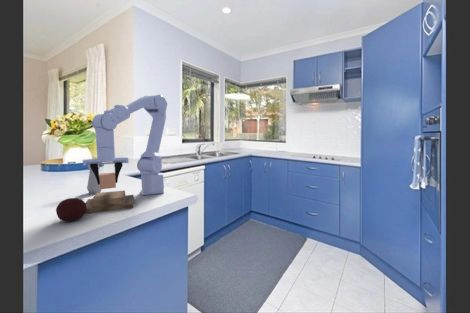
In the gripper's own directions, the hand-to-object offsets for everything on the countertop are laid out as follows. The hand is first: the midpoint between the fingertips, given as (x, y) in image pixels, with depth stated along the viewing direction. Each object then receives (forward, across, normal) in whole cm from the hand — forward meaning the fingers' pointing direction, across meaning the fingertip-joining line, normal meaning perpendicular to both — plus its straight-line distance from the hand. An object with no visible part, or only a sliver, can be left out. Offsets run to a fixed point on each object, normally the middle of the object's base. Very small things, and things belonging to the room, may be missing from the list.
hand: (107, 183), depth 83 cm
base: (+8, 0, +1) cm, 8 cm away
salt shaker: (+9, +4, -22) cm, 24 cm away
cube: (+2, 0, 0) cm, 2 cm away
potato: (+9, +10, +11) cm, 17 cm away
